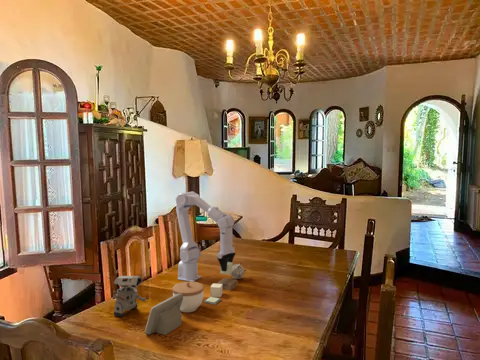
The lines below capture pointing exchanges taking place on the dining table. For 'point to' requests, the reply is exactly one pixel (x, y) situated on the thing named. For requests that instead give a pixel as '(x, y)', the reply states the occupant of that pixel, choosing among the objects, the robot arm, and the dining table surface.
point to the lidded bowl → (189, 295)
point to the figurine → (126, 294)
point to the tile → (212, 300)
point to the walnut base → (228, 283)
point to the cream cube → (216, 290)
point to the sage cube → (229, 269)
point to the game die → (238, 271)
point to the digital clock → (165, 316)
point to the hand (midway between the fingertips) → (226, 269)
